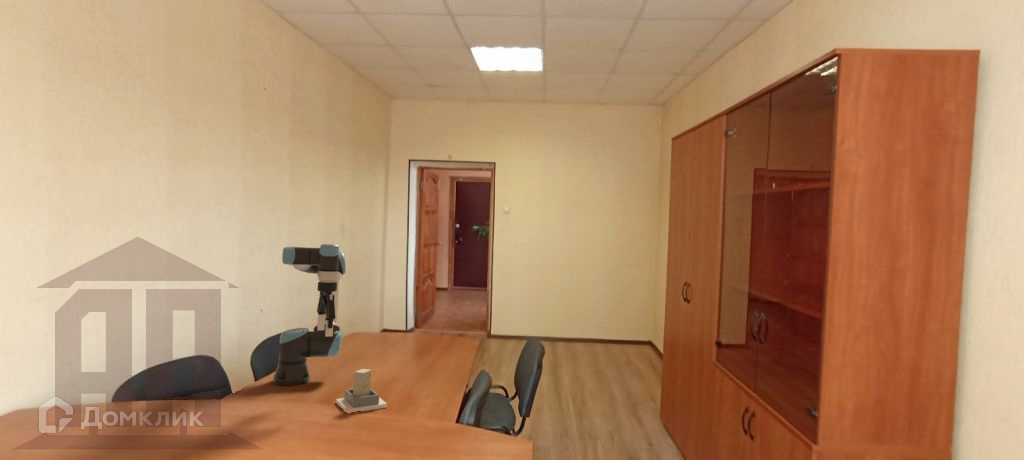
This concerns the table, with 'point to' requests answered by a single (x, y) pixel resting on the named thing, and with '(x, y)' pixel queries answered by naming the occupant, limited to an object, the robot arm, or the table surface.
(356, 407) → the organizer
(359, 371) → the skincare box
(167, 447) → the table surface
